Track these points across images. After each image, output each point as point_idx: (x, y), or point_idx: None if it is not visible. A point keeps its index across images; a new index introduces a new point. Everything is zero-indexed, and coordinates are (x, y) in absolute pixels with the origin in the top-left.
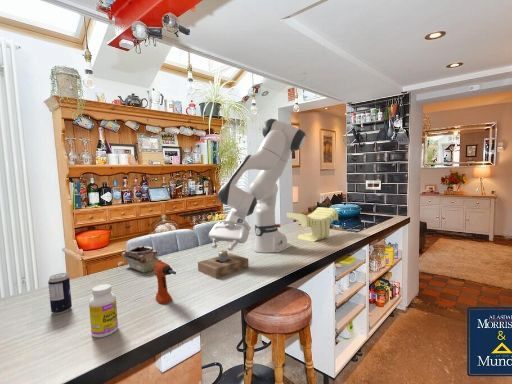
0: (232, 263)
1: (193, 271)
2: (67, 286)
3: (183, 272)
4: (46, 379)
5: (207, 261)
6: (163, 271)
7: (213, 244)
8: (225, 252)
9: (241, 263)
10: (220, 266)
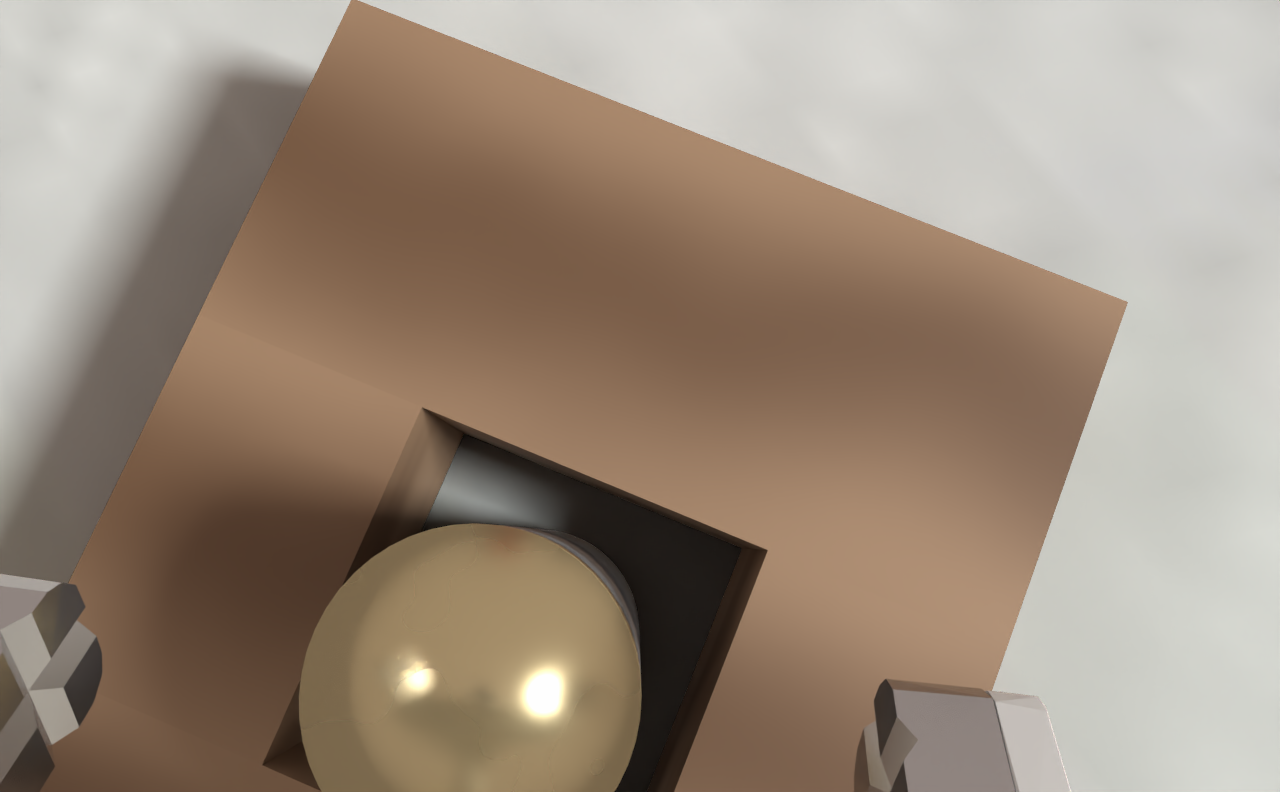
0: (124, 496)
1: (1110, 286)
2: None
3: (1273, 169)
4: None
5: (904, 434)
6: None
7: (989, 766)
8: (325, 643)
9: None
10: (321, 190)
